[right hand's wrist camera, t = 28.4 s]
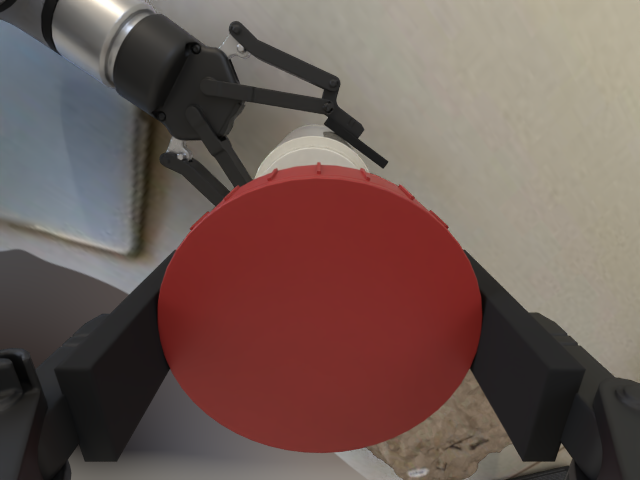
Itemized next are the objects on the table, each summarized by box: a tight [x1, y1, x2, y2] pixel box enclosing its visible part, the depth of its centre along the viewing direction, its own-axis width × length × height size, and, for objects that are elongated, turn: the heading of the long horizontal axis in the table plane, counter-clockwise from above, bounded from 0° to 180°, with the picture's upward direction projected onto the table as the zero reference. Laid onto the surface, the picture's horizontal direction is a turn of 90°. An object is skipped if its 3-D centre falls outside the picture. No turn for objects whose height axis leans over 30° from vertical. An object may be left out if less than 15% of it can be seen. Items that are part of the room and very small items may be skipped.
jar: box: [254, 124, 370, 179], centre depth 31 cm, size 9×9×17 cm
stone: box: [366, 369, 513, 480], centre depth 50 cm, size 21×15×6 cm
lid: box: [157, 162, 482, 453], centre depth 11 cm, size 10×10×2 cm
